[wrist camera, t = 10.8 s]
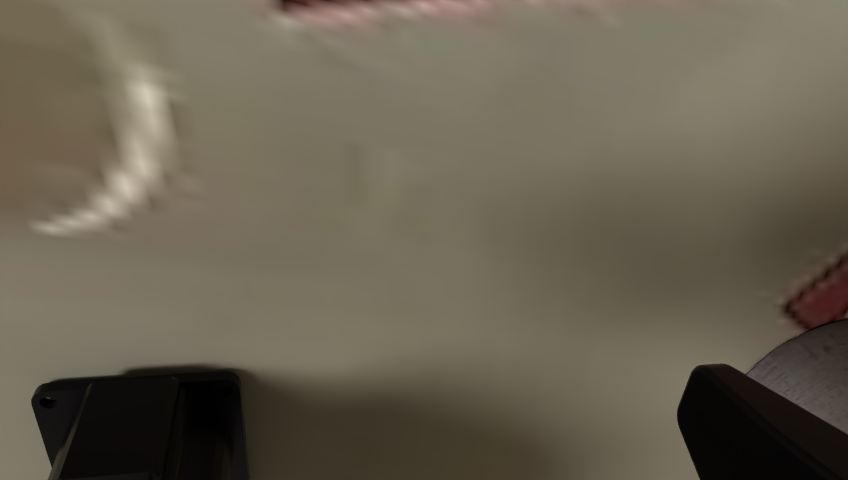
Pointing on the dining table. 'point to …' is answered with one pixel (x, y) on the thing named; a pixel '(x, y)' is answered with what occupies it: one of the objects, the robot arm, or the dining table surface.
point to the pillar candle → (811, 372)
